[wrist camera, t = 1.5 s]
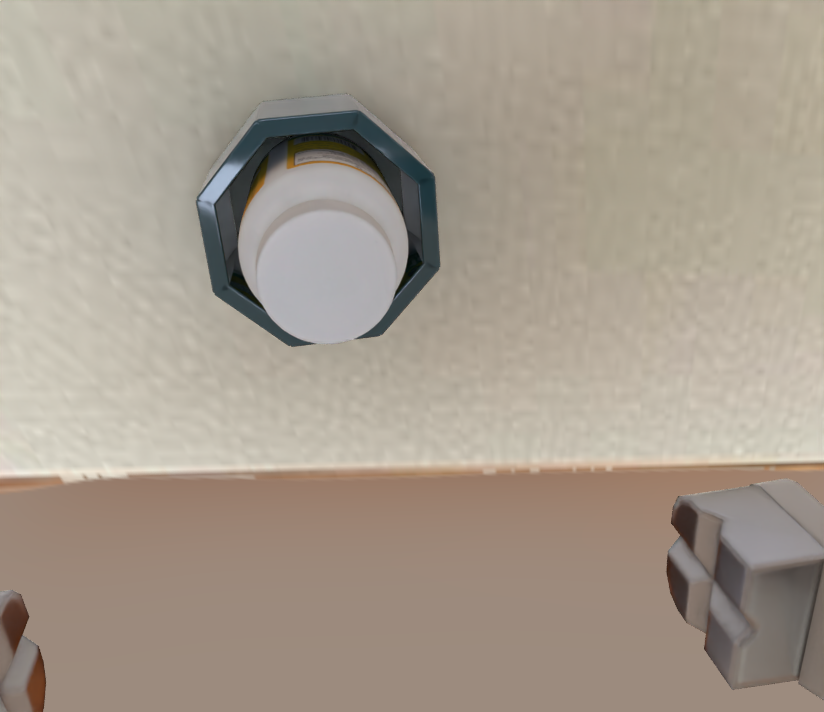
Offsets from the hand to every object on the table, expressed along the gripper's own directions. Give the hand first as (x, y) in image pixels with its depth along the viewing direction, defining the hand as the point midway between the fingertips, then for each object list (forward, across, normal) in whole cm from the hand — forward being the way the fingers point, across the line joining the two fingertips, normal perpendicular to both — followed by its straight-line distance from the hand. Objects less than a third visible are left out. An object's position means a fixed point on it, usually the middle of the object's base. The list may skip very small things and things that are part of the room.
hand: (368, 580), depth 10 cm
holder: (+23, -1, 0) cm, 23 cm away
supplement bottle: (+23, -1, 0) cm, 23 cm away
